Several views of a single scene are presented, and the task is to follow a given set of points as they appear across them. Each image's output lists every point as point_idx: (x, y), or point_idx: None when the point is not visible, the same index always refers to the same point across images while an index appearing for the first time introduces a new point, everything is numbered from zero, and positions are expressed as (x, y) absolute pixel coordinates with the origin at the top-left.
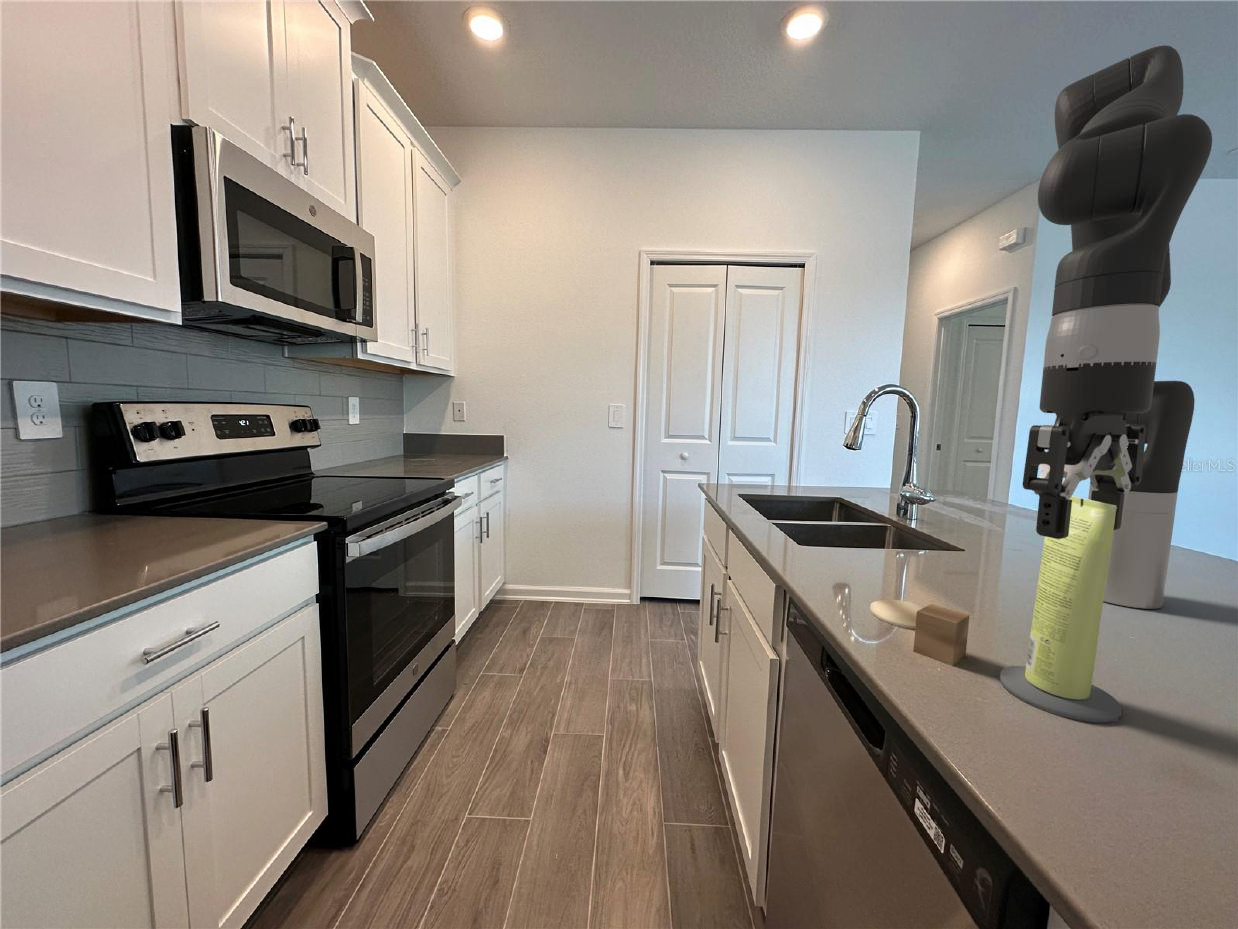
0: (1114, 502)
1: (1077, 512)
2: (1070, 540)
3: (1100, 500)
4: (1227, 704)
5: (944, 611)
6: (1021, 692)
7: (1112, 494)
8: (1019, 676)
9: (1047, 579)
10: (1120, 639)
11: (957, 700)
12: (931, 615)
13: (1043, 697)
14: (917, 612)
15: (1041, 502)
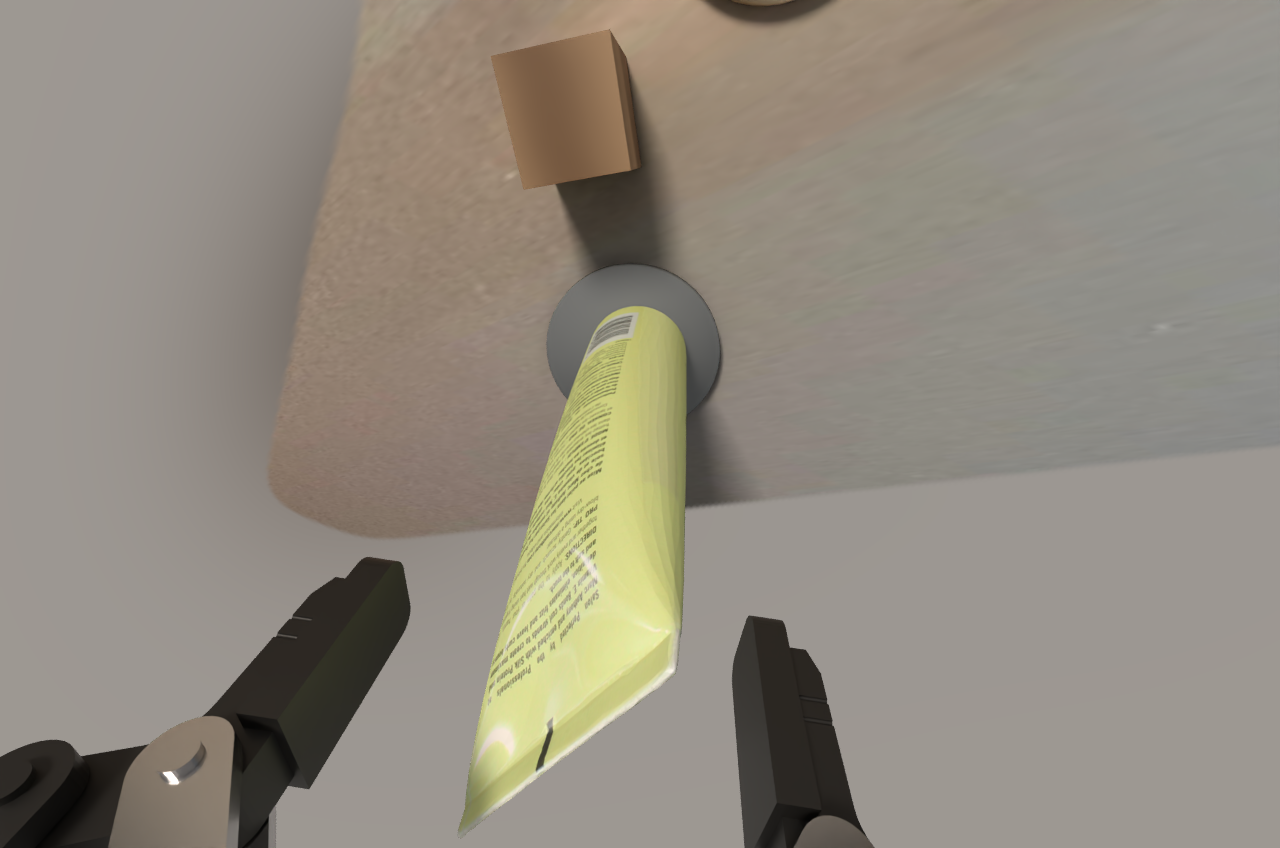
0: (745, 794)
1: (551, 684)
2: (523, 584)
3: (759, 764)
4: (859, 489)
5: (581, 108)
6: (553, 328)
7: (751, 839)
8: (619, 298)
9: (563, 442)
10: (1117, 318)
11: (434, 271)
12: (506, 109)
13: (573, 355)
14: (492, 59)
15: (228, 699)
